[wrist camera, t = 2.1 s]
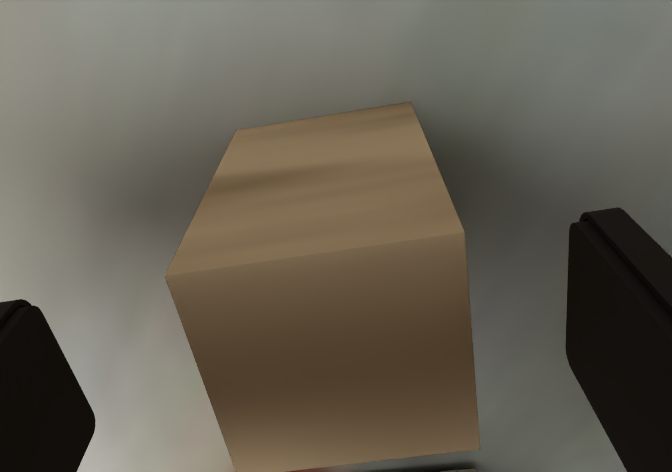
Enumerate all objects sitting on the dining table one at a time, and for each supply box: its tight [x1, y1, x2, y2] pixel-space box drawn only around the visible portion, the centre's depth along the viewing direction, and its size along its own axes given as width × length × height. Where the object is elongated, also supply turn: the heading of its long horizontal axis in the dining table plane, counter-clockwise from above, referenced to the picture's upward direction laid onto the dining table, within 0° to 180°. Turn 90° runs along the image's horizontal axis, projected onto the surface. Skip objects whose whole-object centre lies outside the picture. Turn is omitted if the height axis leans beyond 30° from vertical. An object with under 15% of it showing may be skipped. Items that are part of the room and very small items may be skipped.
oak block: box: [165, 102, 480, 472], centre depth 13 cm, size 4×4×7 cm
